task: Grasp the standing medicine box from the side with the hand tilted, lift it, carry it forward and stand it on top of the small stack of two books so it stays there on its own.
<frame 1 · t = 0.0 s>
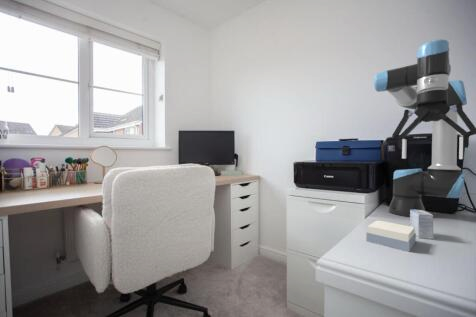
hand: (430, 158, 70), 28 cm above the table, tool pointing down, fingers open, 13 cm apart
book stack: (391, 241, 74), on the table
medicine box: (420, 235, 81), on the table
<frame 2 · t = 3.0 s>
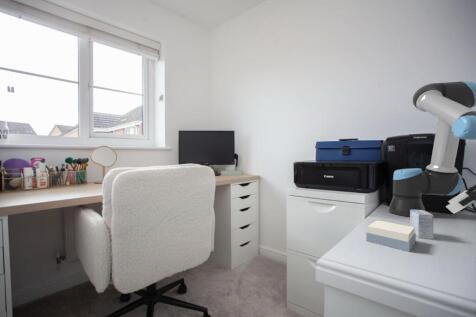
hand: (450, 207, 75), 12 cm above the table, tool tilted 45°, fingers open, 13 cm apart
nothing on the table moved.
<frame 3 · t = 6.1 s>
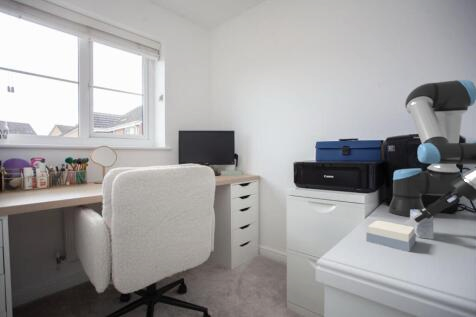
hand: (410, 222, 83), 4 cm above the table, tool tilted 45°, fingers closed on medicine box, 9 cm apart
medicine box: (420, 235, 81), on the table, touching gripper
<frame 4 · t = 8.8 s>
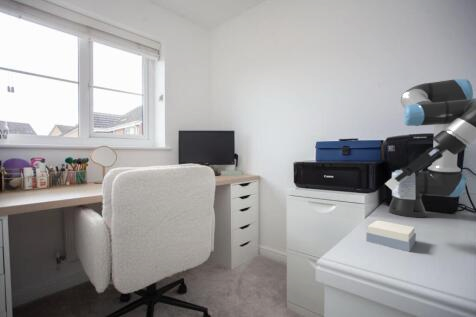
hand: (391, 185, 77), 18 cm above the table, tool tilted 45°, fingers closed on medicine box, 9 cm apart
medicine box: (402, 198, 75), point 14 cm above the table, touching gripper
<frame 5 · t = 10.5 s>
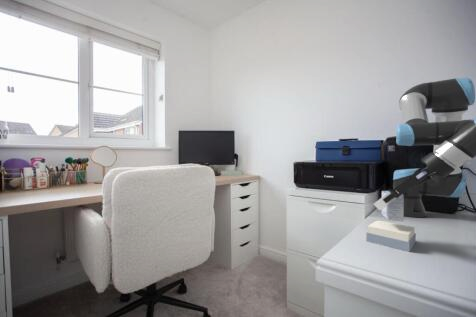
hand: (380, 205, 76), 12 cm above the table, tool tilted 45°, fingers closed on medicine box, 9 cm apart
medicine box: (391, 218, 74), point 8 cm above the table, touching gripper
when the fingers open (10 cm above the table, at t = 11.8 s): medicine box drops 1 cm, resting on book stack.
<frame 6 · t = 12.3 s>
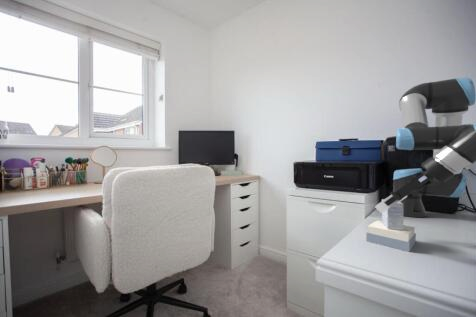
hand: (383, 207, 76), 11 cm above the table, tool tilted 45°, fingers open, 13 cm apart
medicine box: (391, 227, 74), point 5 cm above the table, touching book stack
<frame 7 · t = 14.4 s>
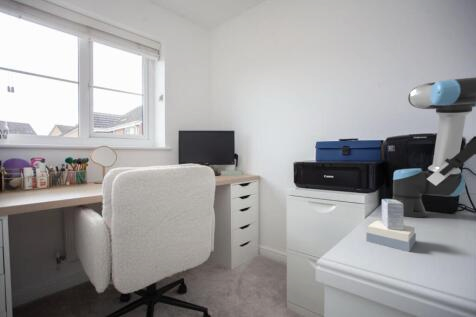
hand: (434, 179, 68), 21 cm above the table, tool tilted 40°, fingers open, 13 cm apart
nothing on the table moved.
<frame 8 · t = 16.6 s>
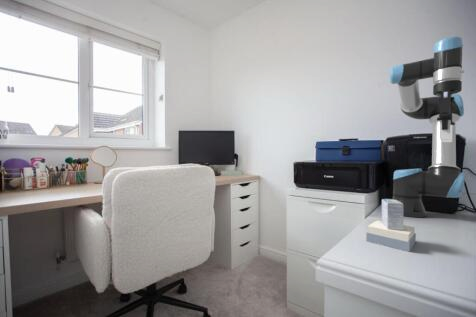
hand: (446, 141, 80), 35 cm above the table, tool pointing down, fingers open, 13 cm apart
nothing on the table moved.
at the end: medicine box inside the target area on the book stack (0.1 cm from its centre), point 4.8 cm above the book stack's base; medicine box tilted 0°; the gripper is holding nothing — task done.
